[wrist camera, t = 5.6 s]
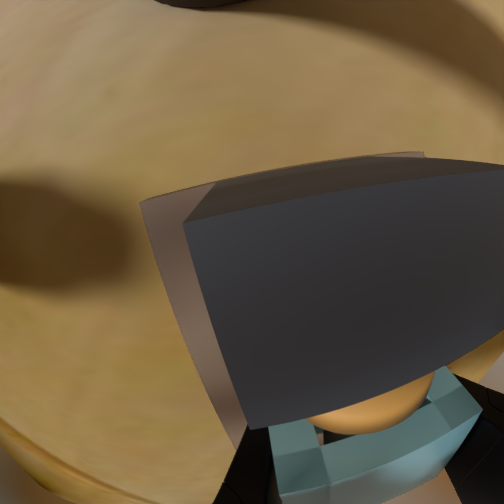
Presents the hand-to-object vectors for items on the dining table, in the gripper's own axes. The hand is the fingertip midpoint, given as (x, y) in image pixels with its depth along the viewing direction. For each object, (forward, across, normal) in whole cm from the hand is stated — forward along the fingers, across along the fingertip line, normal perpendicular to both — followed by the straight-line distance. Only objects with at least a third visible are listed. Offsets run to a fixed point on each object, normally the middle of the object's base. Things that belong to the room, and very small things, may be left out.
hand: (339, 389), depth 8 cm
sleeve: (+1, 0, 0) cm, 1 cm away
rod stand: (+3, 0, +3) cm, 4 cm away
